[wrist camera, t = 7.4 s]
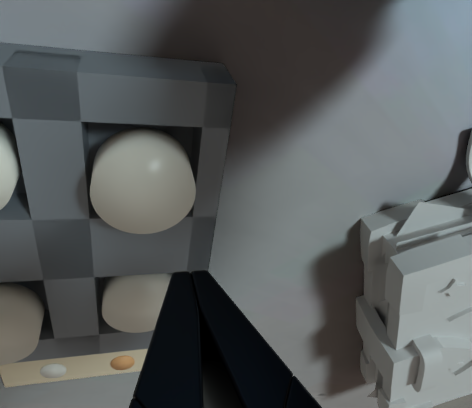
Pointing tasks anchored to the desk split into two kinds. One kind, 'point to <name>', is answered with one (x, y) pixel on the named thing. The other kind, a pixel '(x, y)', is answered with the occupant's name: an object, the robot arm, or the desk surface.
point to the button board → (80, 173)
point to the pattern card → (72, 367)
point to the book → (418, 300)
